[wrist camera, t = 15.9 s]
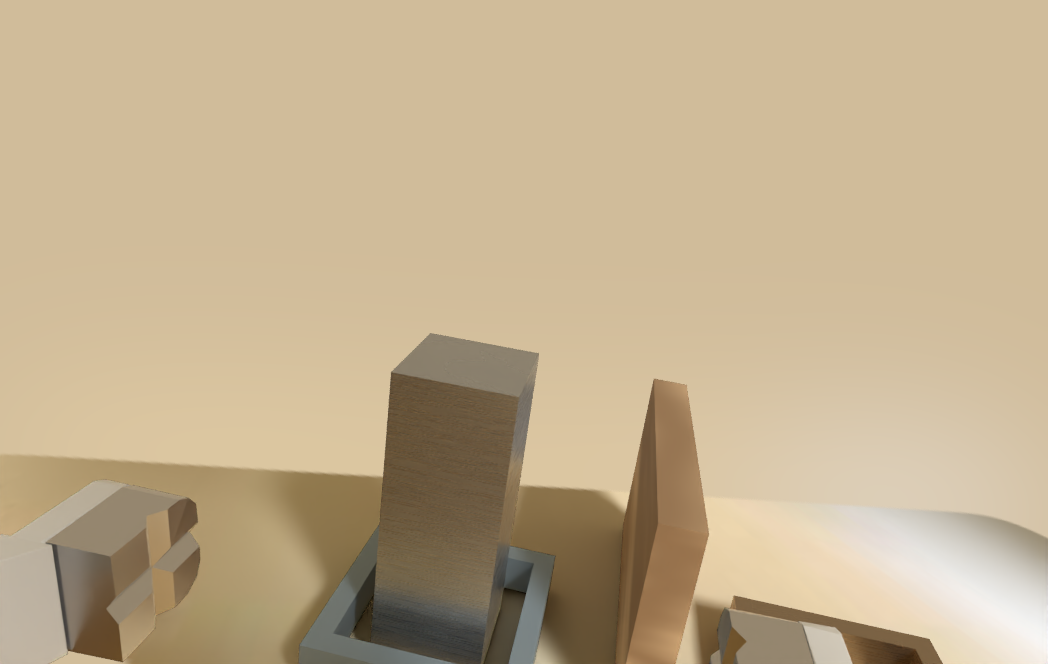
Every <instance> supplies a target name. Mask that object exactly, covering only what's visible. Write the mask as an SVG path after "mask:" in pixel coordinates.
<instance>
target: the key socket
mask: <svg viewBox="0 0 1048 664" xmlns="http://www.w3.org/2000/svg"><path fill="white" fill-rule="evenodd" d="M730 609H735V610H740V611H745V612H750V613H755V614H760V615H765V616H770V617H775V618H780V619H785V620H790V621H795V622H798V621H801V622H807V623H813V624H818V625H824V626H829V627H835V628H836V629H837V630H838V631H839V632H840V633H841V634H842V637H843V639H844V642H845V645H846V647H847V650H848V653H849V655H850V658H851V661H852V663H853V664H943V663H942V661H941V660H940V658H939V656H938V654H937V652H936V650H935V649H934V647H933V645H932V643H931V641H930V639H927V638H922V637H918V636H913V635H909V634H904V633H900V632H895V631H891V630H886V629H882V628H877V627H873V626H868V625H864V624H859V623H855V622H850V621H846V620H841V619H837V618H832V617H828V616H823V615H819V614H814V613H810V612H805V611H801V610H796V609H792V608H787V607H783V606H778V605H774V604H769V603H765V602H760V601H756V600H751V599H747V598H742V597H738V596H734V597H733V600H732V604H731V607H730Z"/></svg>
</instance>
